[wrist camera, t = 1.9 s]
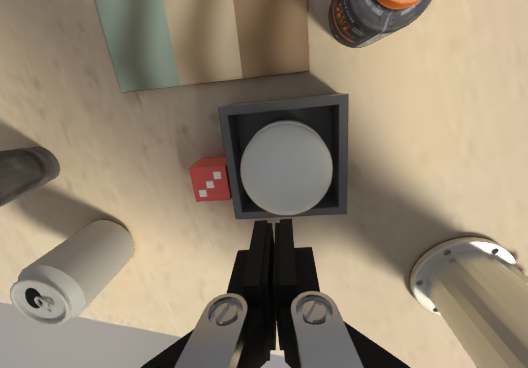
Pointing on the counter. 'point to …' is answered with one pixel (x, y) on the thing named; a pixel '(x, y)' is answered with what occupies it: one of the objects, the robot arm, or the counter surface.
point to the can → (72, 273)
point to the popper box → (242, 131)
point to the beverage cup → (25, 171)
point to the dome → (286, 167)
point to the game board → (203, 40)
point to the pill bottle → (371, 19)
